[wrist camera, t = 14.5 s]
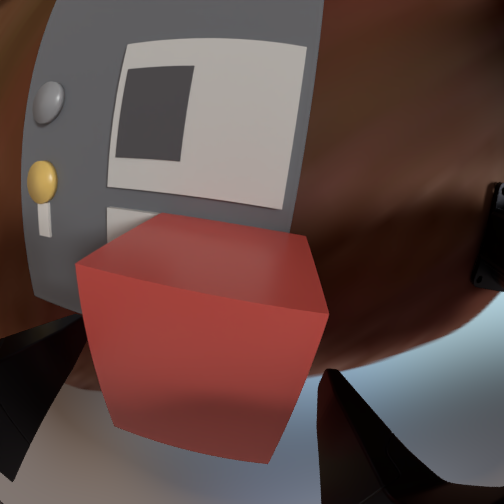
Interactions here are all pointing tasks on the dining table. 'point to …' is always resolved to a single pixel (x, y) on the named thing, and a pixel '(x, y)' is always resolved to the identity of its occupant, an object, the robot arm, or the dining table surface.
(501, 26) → the dining table surface
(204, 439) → the cap
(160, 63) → the panel
